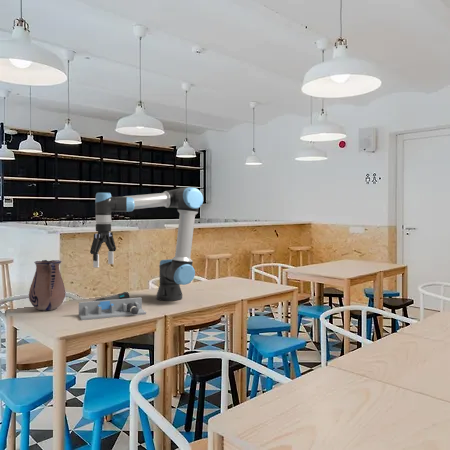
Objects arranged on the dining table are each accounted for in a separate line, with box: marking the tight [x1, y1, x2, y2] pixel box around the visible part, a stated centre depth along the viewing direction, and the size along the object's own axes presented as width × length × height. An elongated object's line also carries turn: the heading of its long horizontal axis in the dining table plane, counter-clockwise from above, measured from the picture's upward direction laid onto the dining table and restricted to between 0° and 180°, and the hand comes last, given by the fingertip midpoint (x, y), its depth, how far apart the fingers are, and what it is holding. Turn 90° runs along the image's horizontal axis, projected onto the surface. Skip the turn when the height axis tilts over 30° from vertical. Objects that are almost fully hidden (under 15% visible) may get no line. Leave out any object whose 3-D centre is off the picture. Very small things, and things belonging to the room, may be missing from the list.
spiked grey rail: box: [78, 297, 147, 321], centre depth 220 cm, size 31×10×6 cm, turn 115°
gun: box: [93, 291, 131, 301], centre depth 239 cm, size 4×20×10 cm, turn 112°
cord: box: [127, 303, 138, 314], centre depth 222 cm, size 10×4×4 cm, turn 25°
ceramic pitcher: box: [28, 259, 66, 312], centre depth 230 cm, size 18×21×25 cm
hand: (103, 265), depth 224 cm, fingers open, 13 cm apart
